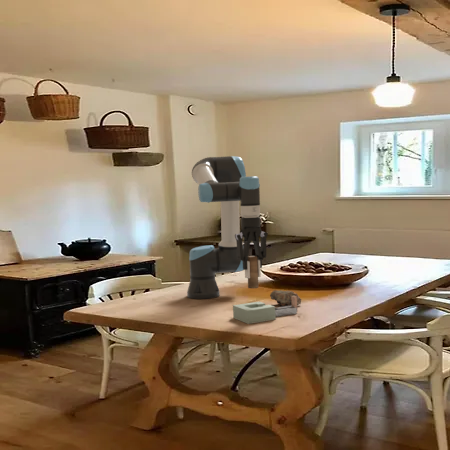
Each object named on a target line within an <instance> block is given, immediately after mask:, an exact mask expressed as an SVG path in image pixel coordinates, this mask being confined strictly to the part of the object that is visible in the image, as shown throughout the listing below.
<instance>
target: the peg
mask: <svg viewBox="0 0 450 450" xmlns="http://www.w3.org/2000/svg"><path fill="white" fill-rule="evenodd" d="M247 261H249V262H250V278H247V288H248V289H258V288H259V277H258V261H257V256H256V255H250V256H249V255H248V260H247Z"/></svg>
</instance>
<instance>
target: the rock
mask: <svg viewBox="0 0 450 450" xmlns="http://www.w3.org/2000/svg"><path fill="white" fill-rule="evenodd" d="M269 296H270V299H271V300H275V301H276V303H277V304H278V305H280V307H284V306H292V299H291V296H296V297H297V306H299V305H301V304H302V300H303V299H302V298H301V297H300V296H299V295H298V293H297V292H294V291H290V290H275V289H274V290H272V292H270V295H269Z"/></svg>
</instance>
